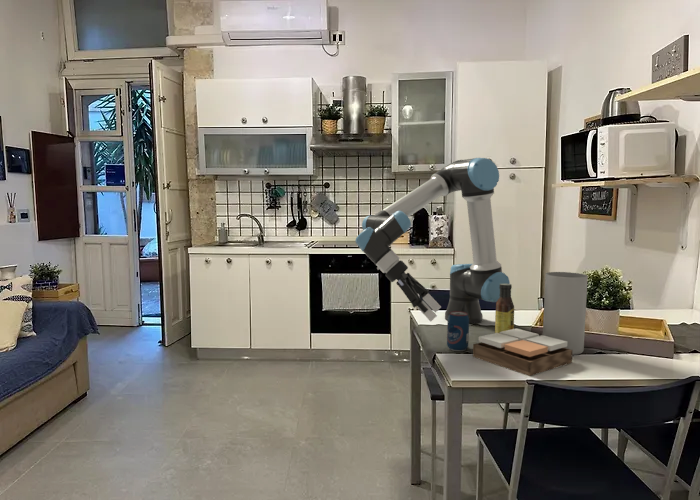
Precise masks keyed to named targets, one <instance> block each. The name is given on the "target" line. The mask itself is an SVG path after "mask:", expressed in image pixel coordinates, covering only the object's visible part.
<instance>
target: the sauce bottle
mask: <svg viewBox="0 0 700 500" xmlns="http://www.w3.org/2000/svg"><path fill="white" fill-rule="evenodd" d="M499 288H500V298H499V299H498V300H497V302H495V314H494V315H495V317H494V318H495V319H494V333H499V334H500V332H502V331H507V330H511V329H515V305H514V302H513V298H512V289H513V288H512V284H511V283H510V284H500V287H499Z"/></svg>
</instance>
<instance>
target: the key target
mask: <svg viewBox="0 0 700 500" xmlns="http://www.w3.org/2000/svg"><path fill="white" fill-rule="evenodd" d="M505 350H508V351H512V352H515V353H518V354H521V355H525V356H528V357H531V356H535V355H538V354H542V353H546V352H548V347H546V346H543V345H539V344H536V343H532V342H528V341H525V340H521V341H517V342H513V343H509V344H505Z"/></svg>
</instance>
